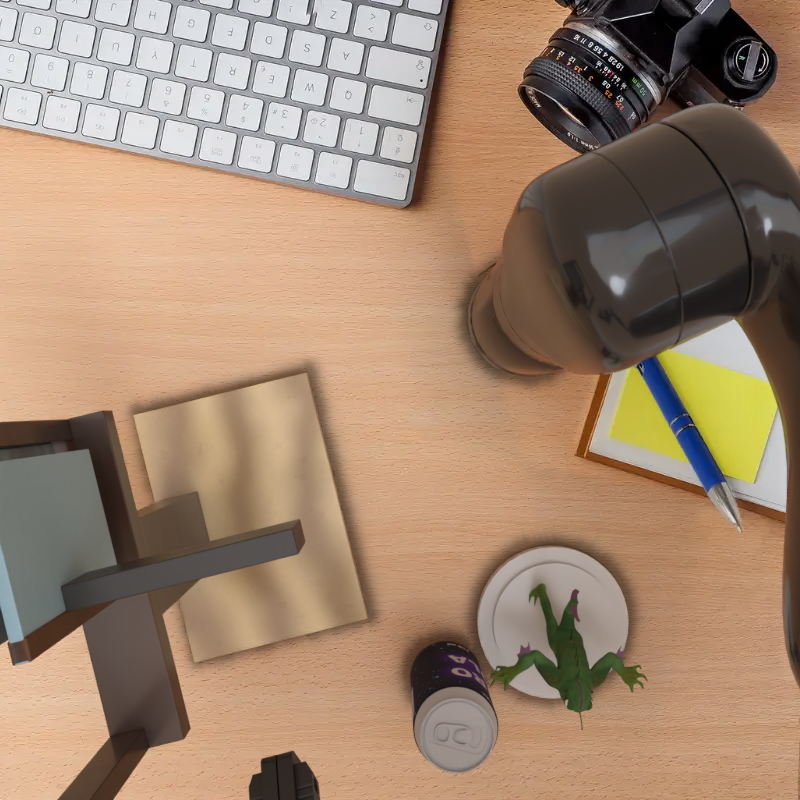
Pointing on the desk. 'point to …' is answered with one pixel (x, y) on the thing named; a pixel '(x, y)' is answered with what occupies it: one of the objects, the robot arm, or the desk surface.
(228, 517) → the light brown wooden board
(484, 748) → the beverage can
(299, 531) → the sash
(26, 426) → the window frame
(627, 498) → the desk surface
